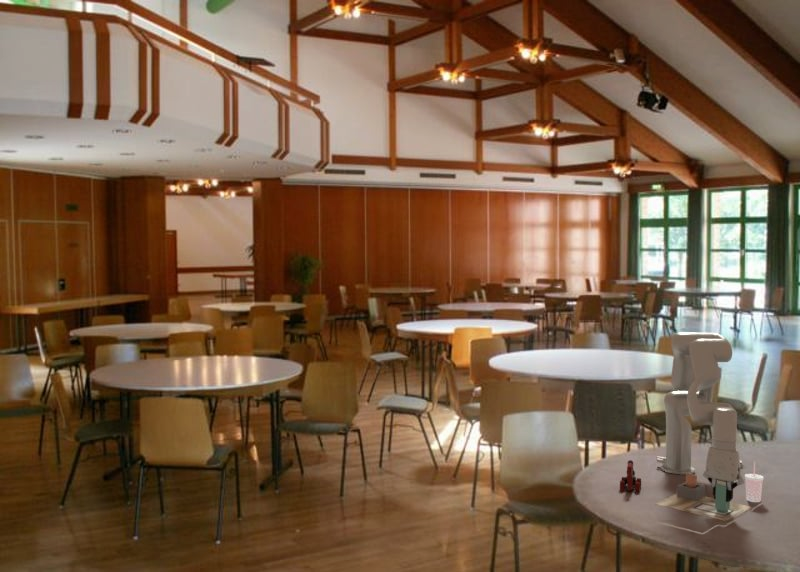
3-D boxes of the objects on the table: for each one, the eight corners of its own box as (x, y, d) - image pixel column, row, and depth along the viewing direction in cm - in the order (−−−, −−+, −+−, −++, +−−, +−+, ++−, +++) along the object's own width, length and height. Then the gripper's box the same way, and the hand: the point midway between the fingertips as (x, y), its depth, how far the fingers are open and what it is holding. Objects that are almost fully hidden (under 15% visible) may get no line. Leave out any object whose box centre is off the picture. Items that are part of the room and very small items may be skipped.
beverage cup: (754, 505, 279) (755, 465, 278) (740, 500, 284) (741, 460, 284) (766, 502, 282) (768, 462, 281) (752, 497, 287) (753, 458, 286)
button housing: (677, 496, 286) (677, 485, 286) (685, 492, 291) (686, 481, 291) (696, 501, 281) (696, 489, 281) (705, 496, 286) (705, 485, 286)
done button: (683, 489, 286) (684, 475, 286) (688, 487, 289) (688, 473, 288) (693, 491, 284) (694, 477, 283) (698, 489, 286) (698, 475, 286)
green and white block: (715, 511, 270) (715, 480, 270) (719, 509, 273) (720, 477, 272) (725, 513, 268) (726, 482, 267) (729, 511, 271) (730, 479, 270)
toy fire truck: (641, 486, 301) (642, 458, 300) (639, 496, 289) (639, 467, 288) (622, 484, 303) (622, 457, 302) (619, 494, 291) (619, 465, 291)
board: (654, 505, 279) (654, 503, 279) (681, 492, 293) (681, 490, 293) (727, 523, 261) (727, 520, 261) (751, 508, 276) (751, 506, 276)
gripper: (694, 442, 272) (693, 496, 273) (744, 451, 261) (743, 507, 262) (704, 438, 278) (703, 491, 279) (753, 447, 266) (752, 502, 267)
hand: (722, 499), depth 270 cm, fingers closed on green and white block, 3 cm apart
